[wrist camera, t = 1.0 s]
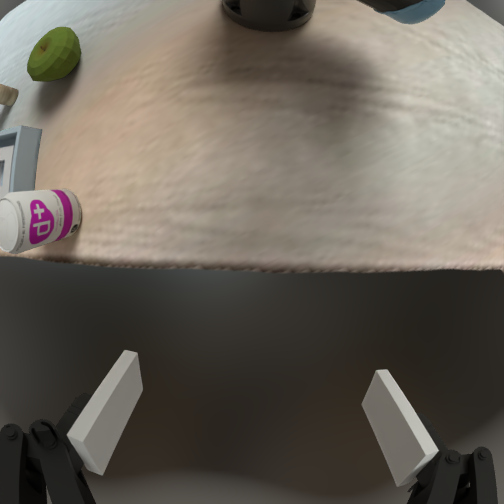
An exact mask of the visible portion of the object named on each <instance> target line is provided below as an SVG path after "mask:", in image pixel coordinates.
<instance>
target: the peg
mask: <svg viewBox="0 0 504 504" xmlns="http://www.w3.org/2000/svg"><path fill="white" fill-rule="evenodd" d="M17 97H18V90H17V89H15V88H11V87H8V86H5V85H2V84H0V104H2V105H6V106H12V105H13V104H14V103H15V101H16V99H17Z"/></svg>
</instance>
